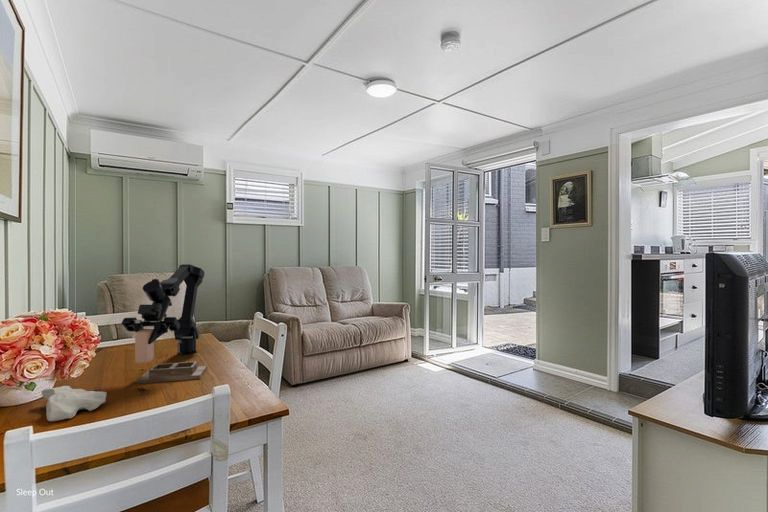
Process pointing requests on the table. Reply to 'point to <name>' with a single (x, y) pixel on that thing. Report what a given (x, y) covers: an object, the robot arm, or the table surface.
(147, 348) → the clay block
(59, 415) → the rock
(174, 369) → the rack
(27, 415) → the table surface
